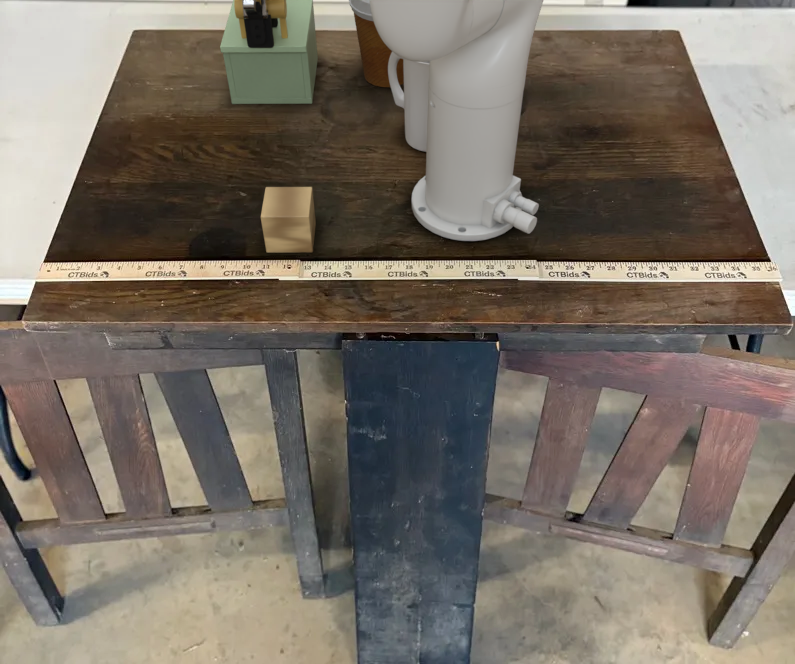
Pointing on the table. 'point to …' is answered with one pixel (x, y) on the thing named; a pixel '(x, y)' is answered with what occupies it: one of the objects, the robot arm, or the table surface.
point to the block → (288, 219)
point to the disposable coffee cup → (373, 47)
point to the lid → (291, 35)
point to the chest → (273, 75)
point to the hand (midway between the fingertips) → (263, 34)
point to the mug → (412, 98)
